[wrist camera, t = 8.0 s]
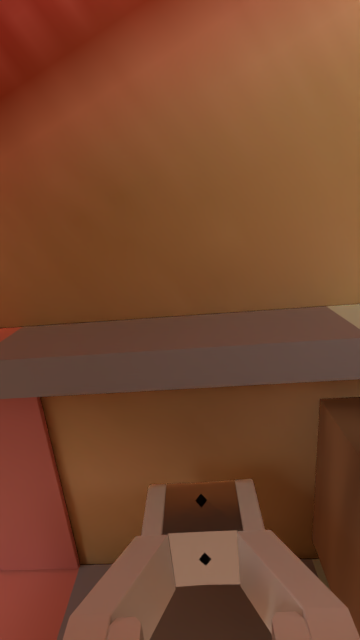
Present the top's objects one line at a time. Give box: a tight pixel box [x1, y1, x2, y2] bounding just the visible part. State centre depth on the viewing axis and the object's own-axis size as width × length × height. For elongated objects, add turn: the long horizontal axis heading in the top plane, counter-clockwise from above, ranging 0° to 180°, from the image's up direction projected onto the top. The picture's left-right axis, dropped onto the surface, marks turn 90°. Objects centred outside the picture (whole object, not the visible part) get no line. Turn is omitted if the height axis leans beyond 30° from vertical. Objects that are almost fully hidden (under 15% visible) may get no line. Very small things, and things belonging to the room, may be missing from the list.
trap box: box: [0, 304, 360, 640], centre depth 10 cm, size 28×11×2 cm, turn 95°
